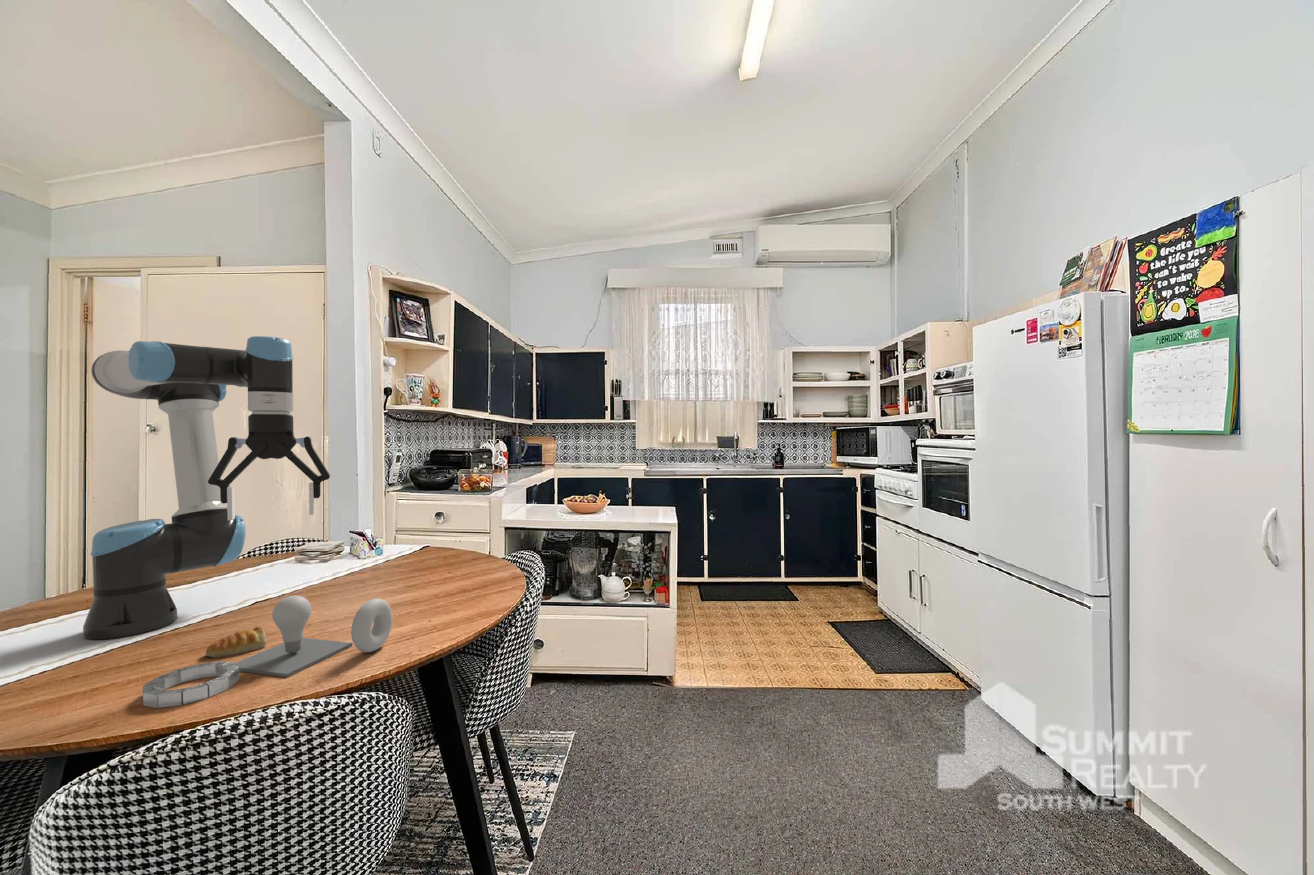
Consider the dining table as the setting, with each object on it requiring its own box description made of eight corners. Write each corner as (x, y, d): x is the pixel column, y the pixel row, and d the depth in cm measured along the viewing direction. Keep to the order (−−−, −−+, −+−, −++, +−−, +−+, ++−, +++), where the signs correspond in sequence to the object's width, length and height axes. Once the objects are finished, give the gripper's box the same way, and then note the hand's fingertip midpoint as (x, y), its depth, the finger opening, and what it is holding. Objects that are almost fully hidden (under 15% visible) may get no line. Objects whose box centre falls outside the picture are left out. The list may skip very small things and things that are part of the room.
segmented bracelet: (123, 702, 86) (123, 690, 86) (204, 669, 97) (204, 658, 97) (178, 711, 83) (177, 698, 83) (255, 676, 94) (254, 665, 94)
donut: (364, 661, 99) (363, 608, 99) (347, 661, 100) (345, 607, 100) (397, 640, 109) (395, 591, 109) (381, 640, 110) (379, 591, 110)
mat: (226, 669, 97) (226, 666, 97) (297, 640, 111) (297, 637, 111) (287, 677, 94) (287, 673, 94) (352, 645, 107) (352, 642, 107)
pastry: (209, 663, 101) (209, 643, 101) (202, 655, 105) (201, 635, 105) (269, 647, 108) (269, 628, 108) (260, 640, 112) (259, 621, 112)
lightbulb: (291, 646, 106) (290, 591, 106) (320, 647, 105) (318, 591, 105) (265, 659, 100) (263, 600, 100) (294, 661, 99) (293, 601, 99)
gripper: (186, 412, 101) (189, 525, 102) (341, 413, 113) (342, 514, 114) (197, 413, 107) (199, 518, 108) (342, 414, 120) (343, 509, 120)
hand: (272, 516), depth 111 cm, fingers open, 13 cm apart
